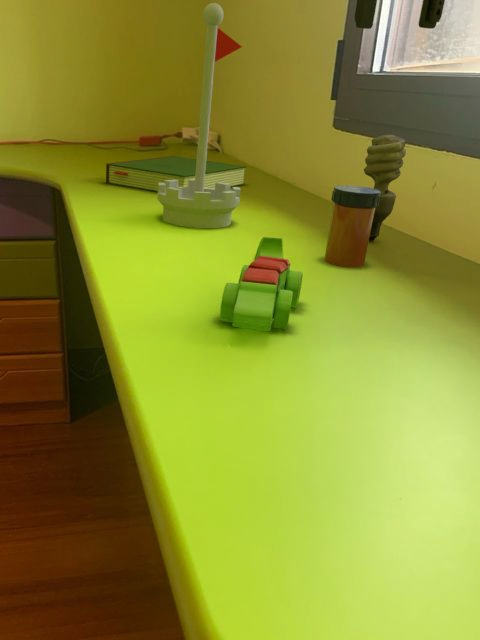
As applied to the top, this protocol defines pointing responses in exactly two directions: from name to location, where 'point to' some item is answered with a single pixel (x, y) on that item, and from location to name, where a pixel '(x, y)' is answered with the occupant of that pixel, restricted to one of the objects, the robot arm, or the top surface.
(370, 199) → the lid
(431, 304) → the top surface
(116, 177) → the hardcover book
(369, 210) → the jar
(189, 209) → the flag stand
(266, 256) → the toy crocodile
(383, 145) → the light bulb
